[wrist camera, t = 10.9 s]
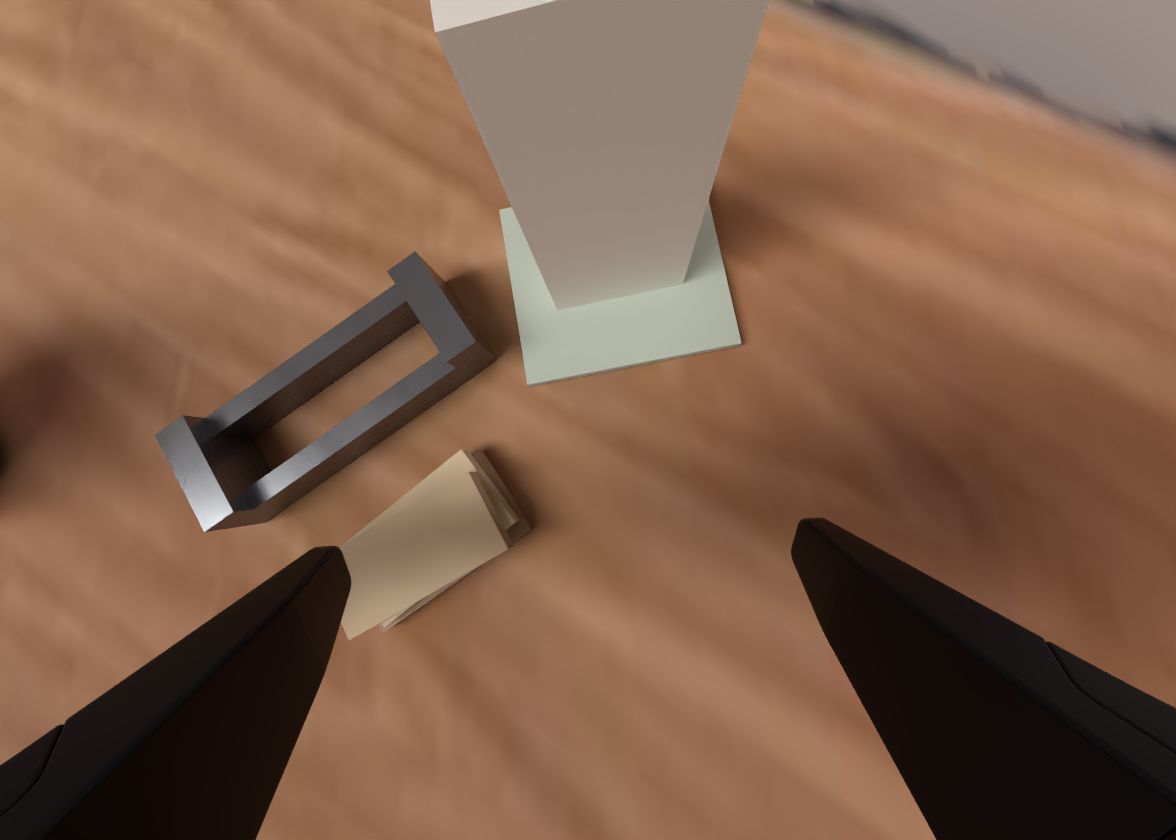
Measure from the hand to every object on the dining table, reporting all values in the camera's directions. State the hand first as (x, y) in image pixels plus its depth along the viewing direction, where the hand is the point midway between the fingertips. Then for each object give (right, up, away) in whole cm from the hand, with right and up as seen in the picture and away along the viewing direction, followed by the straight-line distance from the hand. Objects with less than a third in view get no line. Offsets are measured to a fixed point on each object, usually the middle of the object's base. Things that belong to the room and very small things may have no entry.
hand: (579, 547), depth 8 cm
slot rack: (-11, +3, +13) cm, 17 cm away
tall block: (+1, +9, +12) cm, 15 cm away
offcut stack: (-7, -3, +12) cm, 14 cm away
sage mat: (+1, +9, +12) cm, 15 cm away
